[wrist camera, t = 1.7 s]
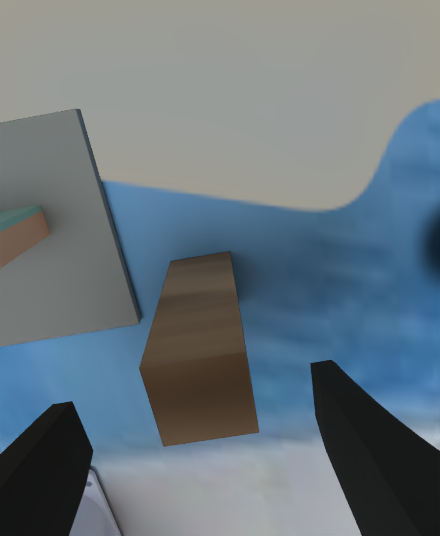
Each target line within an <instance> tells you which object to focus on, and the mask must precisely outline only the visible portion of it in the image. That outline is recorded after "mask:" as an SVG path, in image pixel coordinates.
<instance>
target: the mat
mask: <svg viewBox="0 0 440 536" xmlns="http://www.w3.org/2000/svg"><path fill="white" fill-rule="evenodd" d="M35 205H40V207H41V210H42V213H43V215H44V218H45V221H46V224H47V226H48V229H49V232H50V235H49V236H47V237H46V238H44V239H43V240H42V241H40V242H39V243H37V244H36V245H34V246H33V247H31V248H30V249H28V250H27V251H25V252H24V253H22V254H21V255H20V256H18V257H17V258H15V259H14V260H12V261H11V262H9V263H8V264H6V265H5V266H3V267H2V268H0V347H1V346H8V345H14V344H20V343H26V342H32V341H38V340H45V339H51V338H57V337H63V336H69V335H75V334H82V333H88V332H94V331H100V330H106V329H112V328H119V327H125V326H131V325H137V324H139V323H140V320H141V317H140V314H139V310H138V307H137V303H136V300H135V296H134V293H133V290H132V286H131V283H130V279H129V276H128V272H127V269H126V265H125V262H124V259H123V255H122V252H121V248H120V245H119V241H118V238H117V234H116V231H115V228H114V224H113V221H112V217H111V214H110V210H109V207H108V203H107V200H106V197H105V193H104V190H103V186H102V183H101V179H100V176H99V172H98V169H97V166H96V162H95V159H94V156H93V152H92V148H91V145H90V142H89V138H88V135H87V131H86V128H85V124H84V121H83V118H82V115H81V111H80V109H72V110H66V111H61V112H56V113H51V114H45V115H40V116H34V117H29V118H24V119H18V120H13V121H7V122H2V123H0V212H2V211H7V210H13V209H18V208H24V207H30V206H35Z"/></svg>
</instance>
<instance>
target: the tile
mask: <svg viewBox="0 0 440 536" xmlns="http://www.w3.org/2000/svg"><path fill="white" fill-rule="evenodd" d="M49 235H50V232H49V229H48V226H47V224H46V221H45V218H44V215H43V213H42V210H41V207H40V205H35V206H30V207H24V208H18V209H13V210H7V211H2V212H0V268H2V267H3V266H5V265H6V264H8V263H9V262H11V261H12V260H14V259H15V258H17V257H18V256H20V255H21V254H22V253H24V252H25V251H27V250H28V249H30V248H31V247H33V246H34V245H36V244H37V243H39V242H40V241H42V240H43V239H44V238H46V237H47V236H49Z"/></svg>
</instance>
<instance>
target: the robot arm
mask: <svg viewBox="0 0 440 536" xmlns="http://www.w3.org/2000/svg"><path fill="white" fill-rule="evenodd" d="M310 364H311V374H312V385H313V395H314V405H315V416H316V419H317V423H318V426H319V430H320V433H321V436H322V439H323V443H324V446H325V449H326V452H327V454H328V457H329V459H330V461H331V464H332V466H333V469H334V471H335V473H336V476H337V478H338V480H339V483H340V485H341V488H342V490H343V492H344V495H345V497H346V499H347V502H348V504H349V506H350V509H351V511H352V513H353V516H354V518H355V520H356V523H357V525H358V528H359V530H360V532H361V535H362V536H440V451H439V450H438V449H436V448H435V447H434V446H432V445H431V444H429V443H428V442H427V441H425V440H424V439H423V438H421V437H420V436H419V435H417V434H416V433H415V432H413V431H412V430H411V429H409V428H408V427H407V426H406V425H404V424H403V423H402V422H400V421H399V420H398V419H397V418H395V417H394V416H393V415H392V414H391V413H389V412H388V411H387V410H386V409H385V408H383V407H382V406H381V405H380V404H379V403H378V402H376V401H375V400H374V399H373V398H372V397H371V396H370V395H368V394H367V393H366V392H365V391H364V390H363V389H362V388H361V387H360V386H359V385H358V384H356V383H355V382H354V381H353V380H352V379H351V378H350V377H349V376H348V375H347V374H346V373H345V372H344V371H343V370H342V369H341V368H340V367H339V366H338V365H337V364H336V363H335V362H334V361H332V360H327V361H321V362H315V363H310ZM92 455H93V449H92V446H91V444H90V442H89V439H88V437H87V435H86V432H85V430H84V428H83V425H82V423H81V420H80V418H79V416H78V413H77V411H76V409H75V406H74V404H73V402H72V401H71V402H65V403H59V404H53V405H52V406H51V407H49V408H48V409H47V410H46V411H45V412H44V413H43V414H42V415H41V416H39V417H38V418H37V419H36V420H35V421H34V422H33V423H32V424H31V425H30V426H29V427H28V428H27V429H26V430H25V431H24V432H23V433H22V434H21V435H20V436H19V437H18V438H17V439H16V440H15V441H14V442H13V443H12V444H11V445H10V446H8V447H7V448H6V449H5V450H4V451H3V452H2V453H1V454H0V536H121V534H120V531H119V529H118V527H117V524H116V522H115V520H114V517H113V515H112V512H111V510H110V508H109V505H108V503H107V501H106V498H105V496H104V494H103V491H102V489H101V487H100V484H99V482H98V480H97V477H96V475H95V473H94V472H93V471H92V470H90V465H91V460H92Z"/></svg>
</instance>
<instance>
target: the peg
mask: <svg viewBox="0 0 440 536" xmlns="http://www.w3.org/2000/svg"><path fill="white" fill-rule="evenodd" d="M139 369H140V373H141V376H142V379H143V382H144V385H145V389H146V392H147V395H148V398H149V401H150V405H151V408H152V411H153V414H154V418H155V421H156V424H157V427H158V430H159V434H160V437H161V440H162V443H163V446H164V447H165V446H171V445H178V444H185V443H191V442H198V441H205V440H212V439H218V438H225V437H232V436H239V435H245V434H252V433H259V427H258V421H257V415H256V409H255V402H254V396H253V390H252V384H251V377H250V371H249V365H248V359H247V353H246V346H245V340H244V334H243V328H242V321H241V315H240V309H239V303H238V297H237V291H236V285H235V279H234V273H233V267H232V261H231V255H230V251H228V252H222V253H216V254H210V255H204V256H198V257H192V258H187V259H181V260H175V261H170V265H169V268H168V272H167V275H166V278H165V282H164V285H163V289H162V292H161V296H160V299H159V302H158V306H157V309H156V313H155V316H154V320H153V323H152V326H151V330H150V333H149V337H148V340H147V343H146V347H145V350H144V354H143V357H142V361H141V364H140V367H139Z"/></svg>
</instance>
